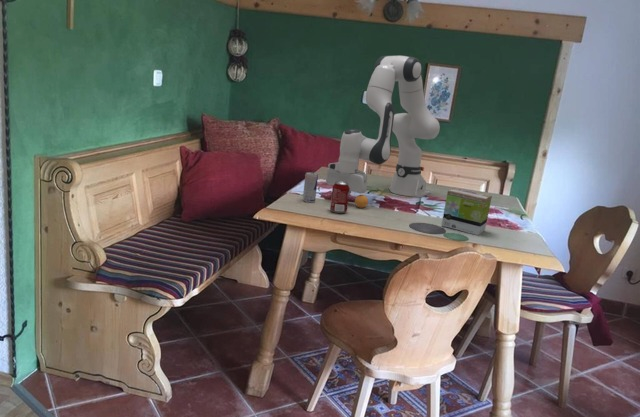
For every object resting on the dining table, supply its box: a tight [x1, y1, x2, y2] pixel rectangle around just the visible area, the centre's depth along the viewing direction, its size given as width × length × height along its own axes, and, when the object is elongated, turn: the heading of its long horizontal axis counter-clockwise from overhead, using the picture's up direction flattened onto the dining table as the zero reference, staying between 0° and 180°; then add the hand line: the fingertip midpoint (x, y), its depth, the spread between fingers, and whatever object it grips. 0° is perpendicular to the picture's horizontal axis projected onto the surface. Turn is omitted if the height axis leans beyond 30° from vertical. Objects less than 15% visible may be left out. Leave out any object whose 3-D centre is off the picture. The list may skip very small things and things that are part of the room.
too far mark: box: [443, 232, 469, 242], centre depth 192 cm, size 9×9×1 cm
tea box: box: [441, 187, 493, 236], centre depth 203 cm, size 15×10×15 cm, turn 58°
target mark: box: [408, 222, 447, 235], centre depth 199 cm, size 14×14×1 cm
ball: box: [354, 194, 369, 209], centre depth 220 cm, size 6×6×6 cm
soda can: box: [329, 181, 350, 214], centre depth 208 cm, size 7×7×12 cm
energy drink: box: [302, 172, 319, 203], centre depth 221 cm, size 5×5×12 cm
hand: (344, 198), depth 226 cm, fingers closed
